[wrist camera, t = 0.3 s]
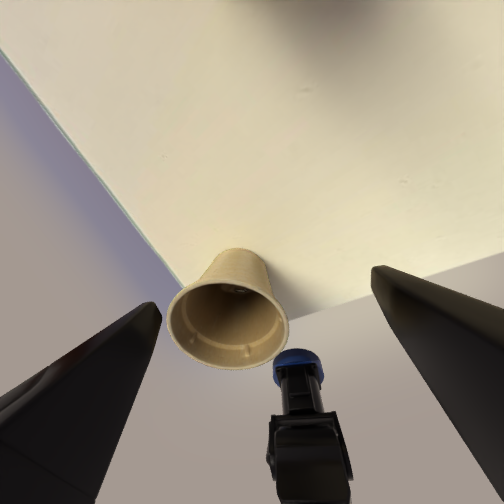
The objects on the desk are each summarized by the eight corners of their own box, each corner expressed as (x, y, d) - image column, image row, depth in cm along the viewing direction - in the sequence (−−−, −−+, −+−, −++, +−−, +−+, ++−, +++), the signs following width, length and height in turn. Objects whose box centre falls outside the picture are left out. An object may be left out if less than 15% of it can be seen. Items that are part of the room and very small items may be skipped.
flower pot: (258, 218, 21) (254, 259, 13) (294, 288, 24) (307, 354, 16) (182, 253, 23) (140, 306, 15) (225, 313, 26) (208, 380, 19)
